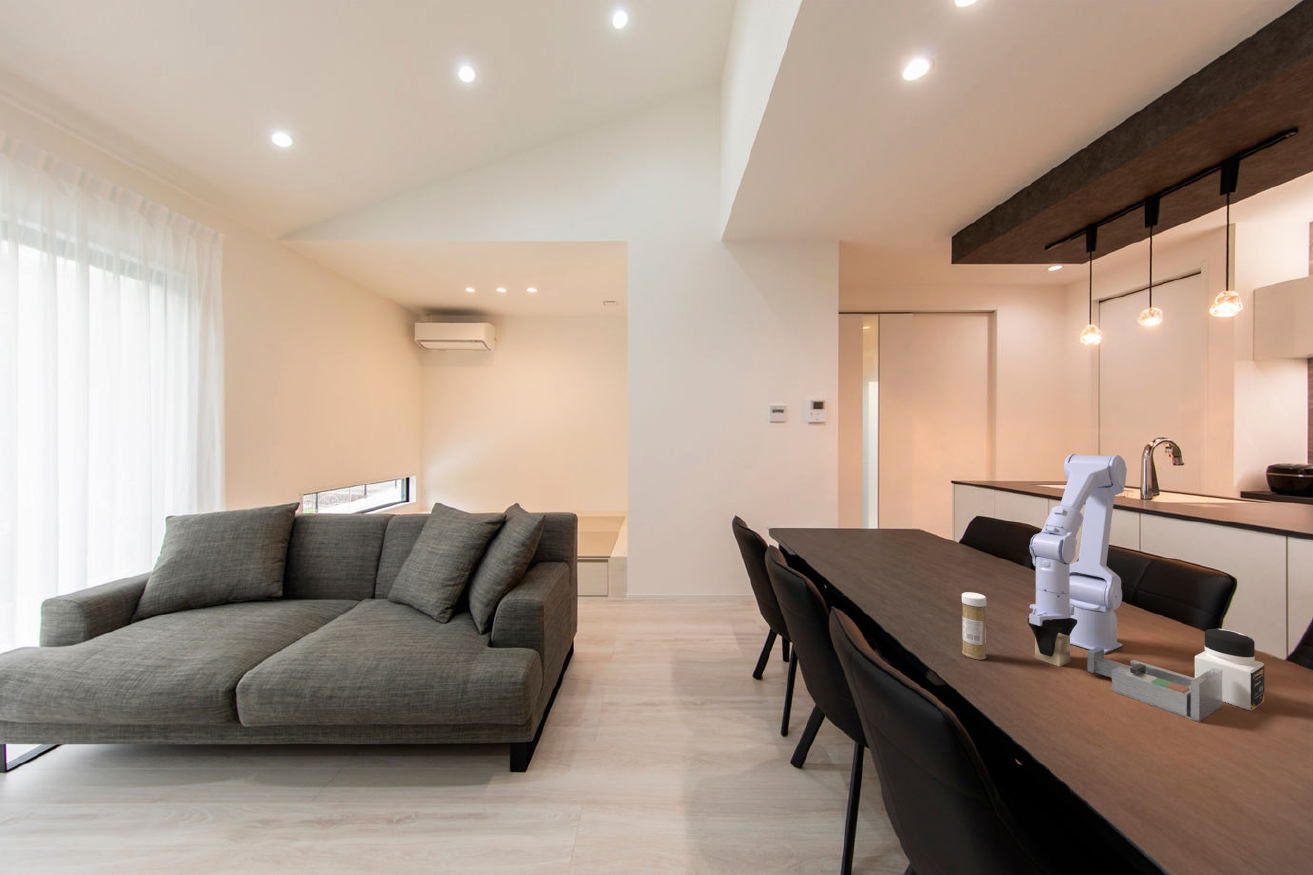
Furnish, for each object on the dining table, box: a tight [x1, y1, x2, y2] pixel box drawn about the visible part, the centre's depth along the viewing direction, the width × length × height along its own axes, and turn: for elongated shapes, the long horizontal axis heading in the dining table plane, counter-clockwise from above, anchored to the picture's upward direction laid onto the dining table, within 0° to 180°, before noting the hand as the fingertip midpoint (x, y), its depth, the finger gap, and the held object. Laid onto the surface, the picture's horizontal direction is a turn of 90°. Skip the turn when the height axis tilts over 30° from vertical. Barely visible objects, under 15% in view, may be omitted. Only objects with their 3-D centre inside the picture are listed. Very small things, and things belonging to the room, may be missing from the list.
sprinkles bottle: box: [961, 591, 987, 661], centre depth 108 cm, size 5×5×14 cm
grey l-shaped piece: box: [1087, 647, 1149, 679], centre depth 96 cm, size 8×8×4 cm
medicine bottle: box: [1194, 628, 1265, 712], centre depth 91 cm, size 7×7×12 cm
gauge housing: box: [1111, 659, 1223, 723], centre depth 91 cm, size 11×12×6 cm
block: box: [1034, 633, 1071, 667], centre depth 106 cm, size 4×4×6 cm
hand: (1052, 652), depth 106 cm, fingers closed on block, 4 cm apart
